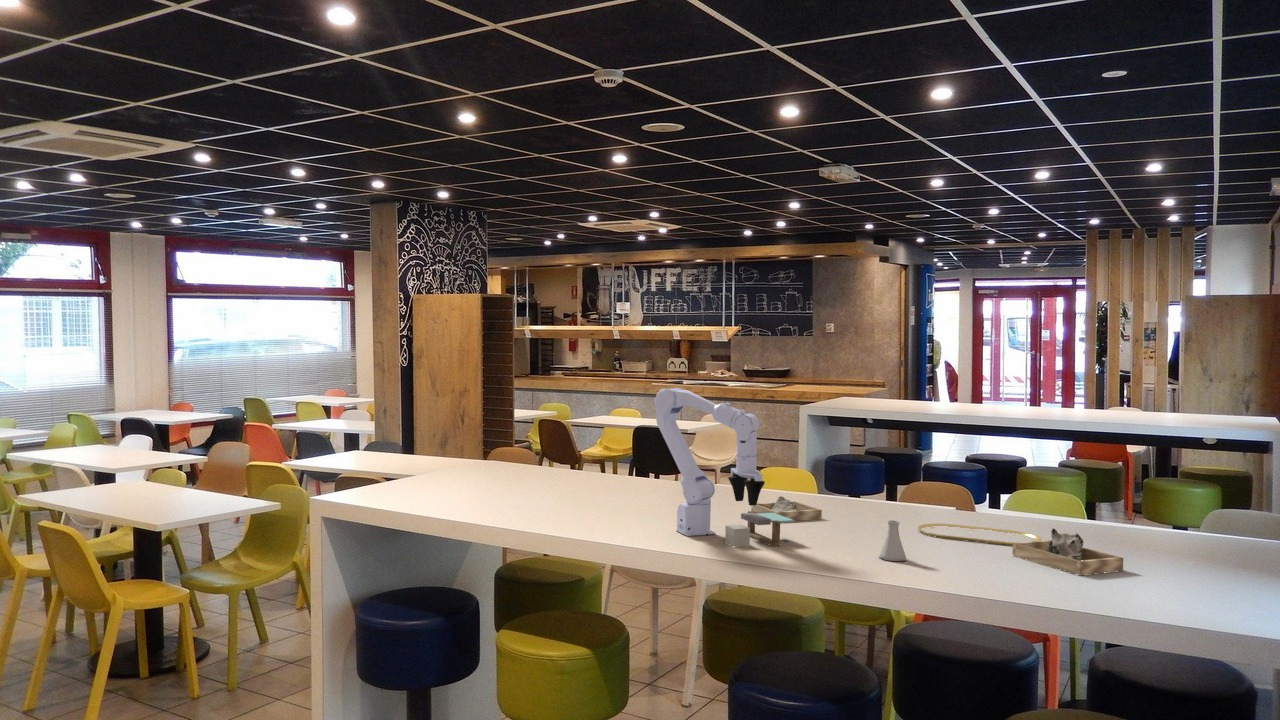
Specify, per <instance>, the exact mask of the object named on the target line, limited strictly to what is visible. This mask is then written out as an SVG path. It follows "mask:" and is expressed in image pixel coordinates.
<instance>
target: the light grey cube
mask: <svg viewBox="0 0 1280 720" xmlns="http://www.w3.org/2000/svg"><path fill="white" fill-rule="evenodd" d="M724 537H725V538H724V543H725V544H726V543H727V544H726V545H728V544H730V545H731V546H730V545H729V546H730V547H733V546H740V547H748V546H747V545H750V544H751V543H750V542H751V540H750V539H751V537H750V528H748V526H745V525H743V524H732V525H725V536H724Z"/></svg>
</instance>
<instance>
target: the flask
mask: <svg viewBox="0 0 1280 720" xmlns="http://www.w3.org/2000/svg"><path fill="white" fill-rule="evenodd" d="M900 524H901V523H900V521H899V520H891V519H890V520H887V525H888V527H887V528H888V529H887V534H886V538H885V540H884V543H883V545H882V548H881V551H880V553H879V557H878V558H880V559H882V560H883V561H889V562H890V561H892V562H903V561H904V562H905V561H907V556H906V553H905V550H904V547H903V544H902V541H901V537H900V530H899V525H900Z"/></svg>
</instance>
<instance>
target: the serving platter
mask: <svg viewBox="0 0 1280 720" xmlns="http://www.w3.org/2000/svg"><path fill="white" fill-rule="evenodd" d="M932 526H948V527H960V528H969V529H984V530H992V531H997V532H1004V533H1008V532H1009V533H1015V534H1016V533H1017V534H1021V535H1025V536H1028V537H1031V538H1034V539H1035V540H1037V541H1043V539H1042V537H1040V536H1039V535H1036V534H1034V533H1031V532H1030V533H1028V532H1024V531H1019V530H1012V529H1003V528H1002V529H1001V528H993V527H991V528H990V527H982V526H981V527H980V526H972V525H963V524H954V523H953V524H952V523H924V524H923V523H922V524H919V525H917V530H918V531H919V532H920V533H921V532H922V533H921V534H923V533H924V534H923V535H925V534H927V535H926V536H928V535H931V536H930V537H932V536H936V537H935V538H938V537H942V538H941V539H945V538H950V539H949V540H954V539H959V540H958V541H963V540H968V541H967V542H972V541H979V542H978V543H981V542H988V543H987V544H990V543H996V544H995V545H999V544H1005V545H1004V546H1009V545H1013V543H1017V541H1016V542H1012V541H1001V540H993V539H983V538H975V537H965V536H956V535H947V534H939V533H933V532H930V531H929V532H928V531H925V530H923V531H922V530H921V529H922V528H925V527H932Z"/></svg>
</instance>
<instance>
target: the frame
mask: <svg viewBox="0 0 1280 720" xmlns="http://www.w3.org/2000/svg"><path fill="white" fill-rule="evenodd" d="M747 513H755V512H754V511H751V510H750V511H749V510H748V511H747ZM747 527H748V528H750V536H751V537H750V538H752V537H753V538H752V539H754V538H755V539H754V540H757V539H758V540H757V541H759V540H760V542H761V541H762V543H764V542H765V543H764V544H766V543H767V544H766V545H768V544H770V545H769V546H771V545H772V547H778V546H777V545H781V546H782V544H781V523H780V521H778V520H773V521H772V522H771V529H772V530H771V538H770V537H767V536H766V535H762V534H761V533H758V532H756V524H754V523H751V522H749V521H747Z"/></svg>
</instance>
